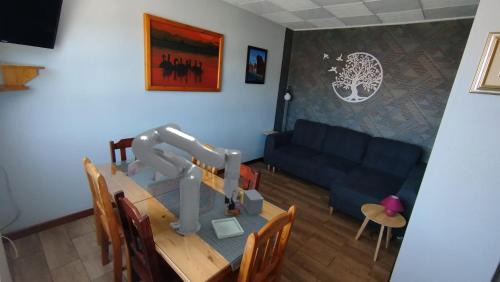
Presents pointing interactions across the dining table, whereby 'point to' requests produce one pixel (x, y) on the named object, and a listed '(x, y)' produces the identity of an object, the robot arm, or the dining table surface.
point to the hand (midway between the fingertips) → (229, 206)
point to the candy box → (237, 205)
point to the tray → (227, 228)
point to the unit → (252, 202)
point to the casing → (144, 166)
